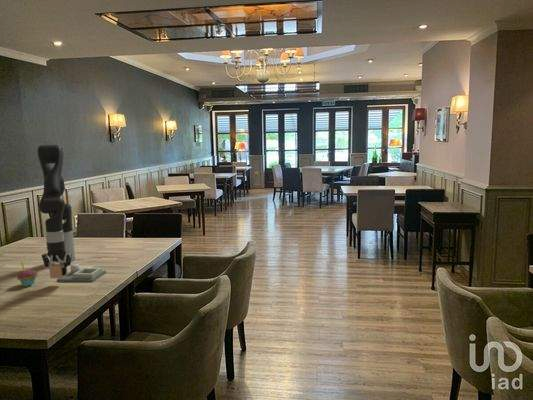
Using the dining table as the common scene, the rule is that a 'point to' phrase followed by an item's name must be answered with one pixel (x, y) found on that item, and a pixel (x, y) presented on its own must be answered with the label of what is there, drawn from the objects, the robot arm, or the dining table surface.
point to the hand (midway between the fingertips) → (58, 274)
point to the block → (56, 270)
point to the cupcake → (27, 276)
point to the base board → (82, 274)
